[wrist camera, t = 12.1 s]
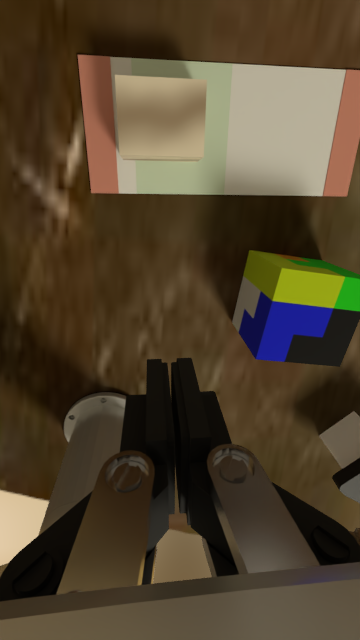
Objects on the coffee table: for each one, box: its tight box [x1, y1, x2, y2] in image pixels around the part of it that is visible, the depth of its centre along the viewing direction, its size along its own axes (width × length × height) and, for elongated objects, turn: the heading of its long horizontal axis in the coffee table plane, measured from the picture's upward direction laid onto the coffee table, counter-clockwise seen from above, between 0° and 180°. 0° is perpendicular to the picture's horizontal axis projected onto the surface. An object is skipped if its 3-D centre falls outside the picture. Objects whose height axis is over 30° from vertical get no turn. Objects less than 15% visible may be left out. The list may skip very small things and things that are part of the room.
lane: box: [110, 57, 346, 196], centre depth 32 cm, size 12×24×1 cm, turn 89°
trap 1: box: [323, 70, 360, 196], centre depth 33 cm, size 12×3×1 cm, turn 179°
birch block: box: [115, 75, 207, 162], centre depth 29 cm, size 6×8×4 cm
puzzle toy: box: [232, 250, 360, 367], centre depth 35 cm, size 10×10×10 cm
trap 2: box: [78, 55, 119, 193], centre depth 30 cm, size 12×3×1 cm, turn 179°
